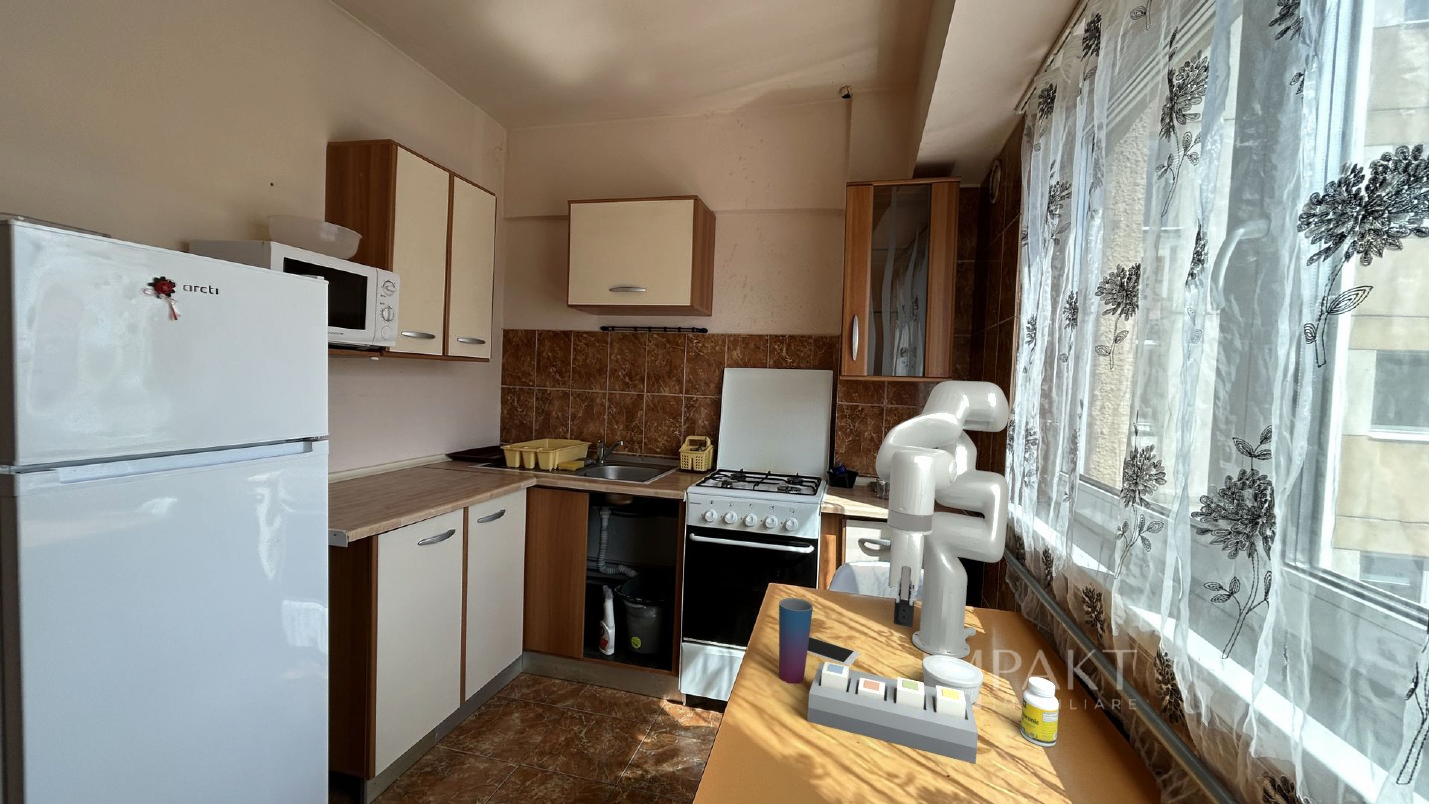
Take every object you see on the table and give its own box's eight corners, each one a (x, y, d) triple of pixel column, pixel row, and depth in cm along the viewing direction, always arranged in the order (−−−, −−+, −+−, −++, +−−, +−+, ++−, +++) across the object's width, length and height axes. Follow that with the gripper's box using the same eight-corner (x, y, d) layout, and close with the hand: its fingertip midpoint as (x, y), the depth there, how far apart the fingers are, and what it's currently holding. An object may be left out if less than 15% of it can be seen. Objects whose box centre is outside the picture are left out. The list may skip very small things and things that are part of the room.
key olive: (896, 706, 96) (897, 687, 96) (896, 693, 100) (897, 676, 100) (923, 712, 94) (924, 693, 94) (922, 699, 99) (923, 681, 99)
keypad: (807, 721, 97) (809, 693, 97) (817, 688, 109) (819, 662, 108) (975, 763, 88) (977, 732, 88) (967, 722, 100) (969, 695, 100)
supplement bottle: (1013, 728, 99) (1017, 674, 99) (1042, 728, 99) (1046, 674, 99) (1033, 748, 93) (1037, 690, 93) (1063, 748, 94) (1067, 691, 94)
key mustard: (936, 715, 94) (937, 696, 94) (935, 702, 98) (936, 684, 98) (964, 721, 92) (965, 703, 92) (962, 708, 97) (963, 690, 96)
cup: (807, 688, 108) (812, 612, 108) (773, 683, 109) (777, 608, 109) (808, 671, 115) (813, 600, 114) (776, 666, 116) (780, 596, 116)
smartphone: (849, 665, 118) (786, 644, 126) (849, 668, 118) (786, 647, 126) (861, 652, 124) (799, 633, 133) (860, 655, 124) (799, 635, 133)
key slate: (820, 688, 100) (822, 671, 100) (824, 677, 104) (825, 660, 104) (845, 694, 99) (846, 676, 99) (848, 682, 103) (849, 665, 103)
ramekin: (978, 687, 113) (979, 661, 113) (985, 716, 102) (987, 688, 102) (919, 674, 117) (921, 650, 116) (921, 701, 106) (923, 674, 106)
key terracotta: (857, 705, 98) (858, 688, 98) (859, 693, 102) (860, 676, 102) (883, 711, 97) (884, 693, 97) (883, 699, 101) (885, 681, 101)
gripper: (890, 510, 106) (884, 605, 106) (884, 527, 92) (877, 636, 92) (932, 515, 103) (926, 613, 103) (933, 534, 89) (925, 646, 89)
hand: (903, 623), depth 98 cm, fingers closed
